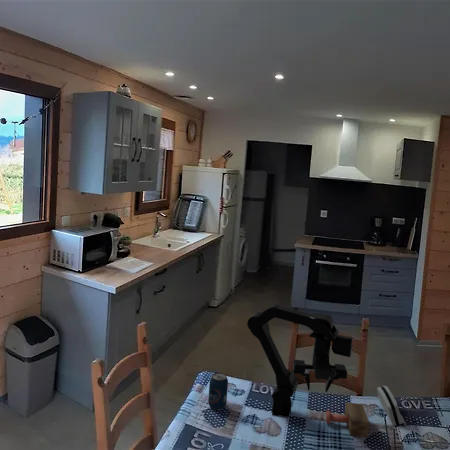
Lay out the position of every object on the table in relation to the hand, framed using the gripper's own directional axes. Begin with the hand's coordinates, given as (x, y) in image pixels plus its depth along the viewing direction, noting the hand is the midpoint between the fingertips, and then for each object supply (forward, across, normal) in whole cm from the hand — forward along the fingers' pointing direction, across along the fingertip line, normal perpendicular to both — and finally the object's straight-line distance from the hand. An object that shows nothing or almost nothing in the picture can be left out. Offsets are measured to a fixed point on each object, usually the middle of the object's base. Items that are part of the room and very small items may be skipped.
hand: (317, 391), depth 160 cm
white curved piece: (+12, +30, +12) cm, 35 cm away
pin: (+12, +9, 0) cm, 15 cm away
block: (+12, +15, 0) cm, 19 cm away
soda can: (+12, -36, +3) cm, 38 cm away
